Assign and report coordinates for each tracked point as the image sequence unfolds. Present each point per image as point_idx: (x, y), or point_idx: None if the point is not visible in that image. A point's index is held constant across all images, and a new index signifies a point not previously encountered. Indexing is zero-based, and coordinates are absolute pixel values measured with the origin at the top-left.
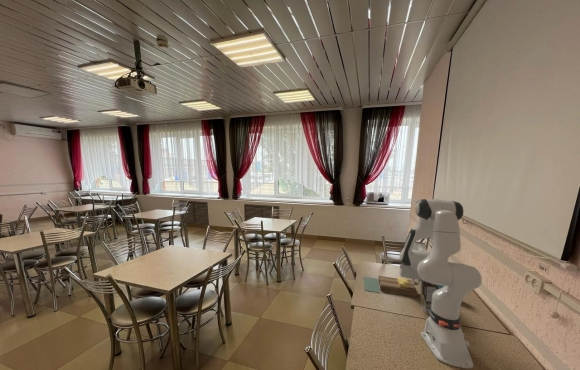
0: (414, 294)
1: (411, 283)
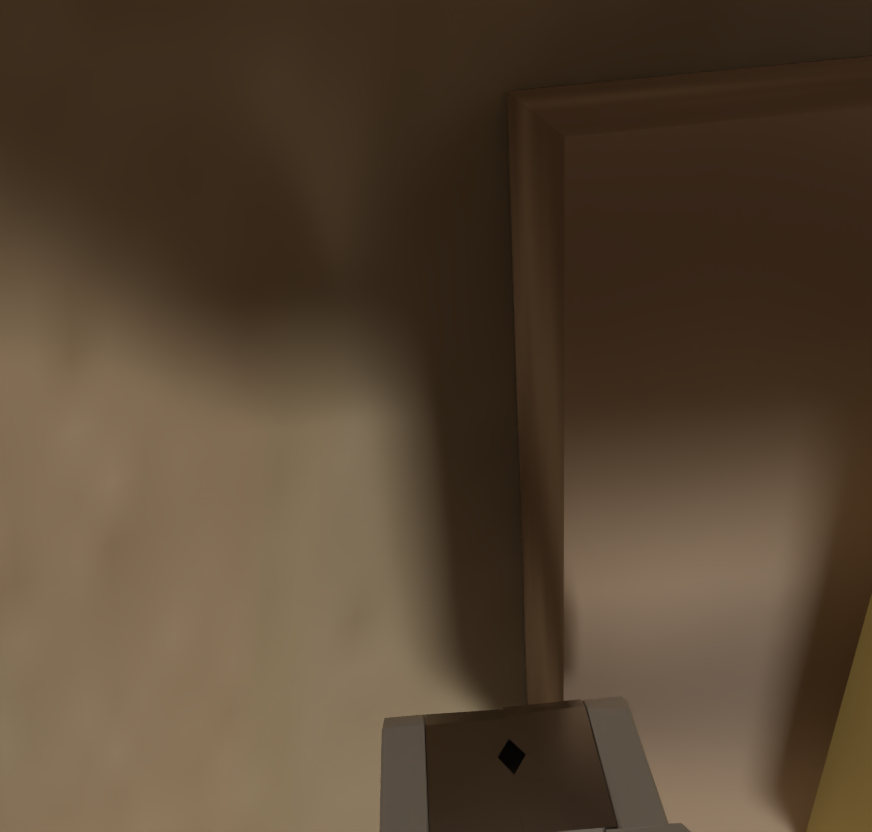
0: (635, 89)
1: None
